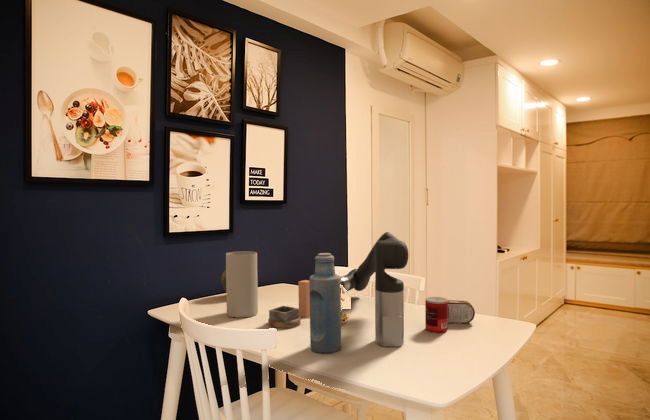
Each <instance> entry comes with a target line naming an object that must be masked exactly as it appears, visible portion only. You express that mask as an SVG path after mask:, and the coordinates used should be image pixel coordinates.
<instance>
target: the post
mask: <svg viewBox="0 0 650 420" xmlns="http://www.w3.org/2000/svg"><path fill="white" fill-rule="evenodd" d="M309 281H310V280H309V279H307V280H306V279H304V280H300V281H298V285H297V286H298V309H299V317H300V318H304V319H308V318H310V289H309Z"/></svg>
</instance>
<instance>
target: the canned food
mask: <svg viewBox="0 0 650 420" xmlns="http://www.w3.org/2000/svg"><path fill="white" fill-rule="evenodd" d="M447 300H448V299H447V298H445V297H442V296H429V297H425V306H424V307H425V308H424V309H425V316H424V317H425V330H426V331H427V332H429V333H434V334H443V333H446V332H447V331H448V328H449V327H448V325H449V323H448V301H447Z"/></svg>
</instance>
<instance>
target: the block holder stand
mask: <svg viewBox="0 0 650 420" xmlns="http://www.w3.org/2000/svg"><path fill="white" fill-rule="evenodd" d="M267 323H268V324H269V325H270V326H271V327H270V326H269V325H268V326H269V327H270V328H272V327H274V328H273V329H276V328H277V329H278V328H283V329H282V330H288V329H287V328H289V329H294V328H297V327H299V326H300V325H301V317H299V307H298V308H297V307H293V306H288V305H287V306H286V305H280V306H279V307H274V308H272V309H269V310H268V321H267ZM284 328H285V329H284ZM277 329H276V330H277Z"/></svg>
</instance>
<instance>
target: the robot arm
mask: <svg viewBox="0 0 650 420" xmlns="http://www.w3.org/2000/svg"><path fill="white" fill-rule="evenodd" d="M408 249H409V248H408V246H407V244H406V242H405V241H402V240H400V239H398V238H397V236H395V235H393V234H392V233H390V232H388V231H386V232H384V233H383V234H382V235H380V237H379V238H378V239H377V241H375V244H373V246H372V248H371V250H370V251H369V253H368V255H367V256H366V258H365V259H364V260H363V261H362V263H361V264H360V265H359V266H358V268H354V269H351V270H350V271H349V272H348V274H345V275H341V276H340V275H339V276H340V284H341V285H343V287H344V288H345V289H346V290H347V291H346V292H348V291H351V290H355V291H357V292H361V291H364V290H365V289H366V287H367V286H368V285H369V282H370V279H371V277H372V276H373V275H374V276H375V279H374V281H375V282H374V285H375V286H374V287H375V288H374V294H375V295H374V303H375V304H374V307H375V309H374V310H375V312H374V313H375V314H374V323H375V324H374V331H375V332H374V334H375V339H374V340H375V343H376V344H378V345H379V346H381V347H402V346H403V345H404V343H405V342H404V341H405V337H404V336H405V327H404V325H405V324H404V323H405V321H404V319H405V316H404V315H405V314H404V313H405V311H404V310H405V309H404V308H405V306H404V305H405V303H404V302H405V293H404V292H405V289H404V281H403V280H401V279H399V278H396V277H394V276H392V275H390V274H388V273H387V272H386V271H385V270H401V269H404V268H405V267H407V265H408V263H409V250H408Z"/></svg>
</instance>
